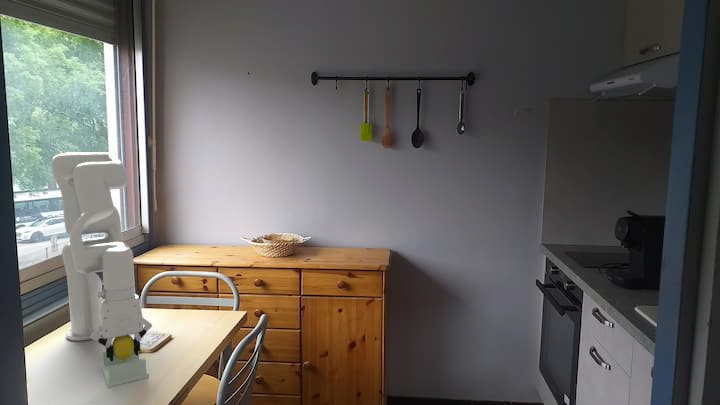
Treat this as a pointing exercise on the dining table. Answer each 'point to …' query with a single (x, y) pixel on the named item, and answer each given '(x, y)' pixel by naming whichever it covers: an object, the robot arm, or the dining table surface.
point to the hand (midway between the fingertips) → (123, 355)
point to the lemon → (123, 347)
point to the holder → (123, 369)
